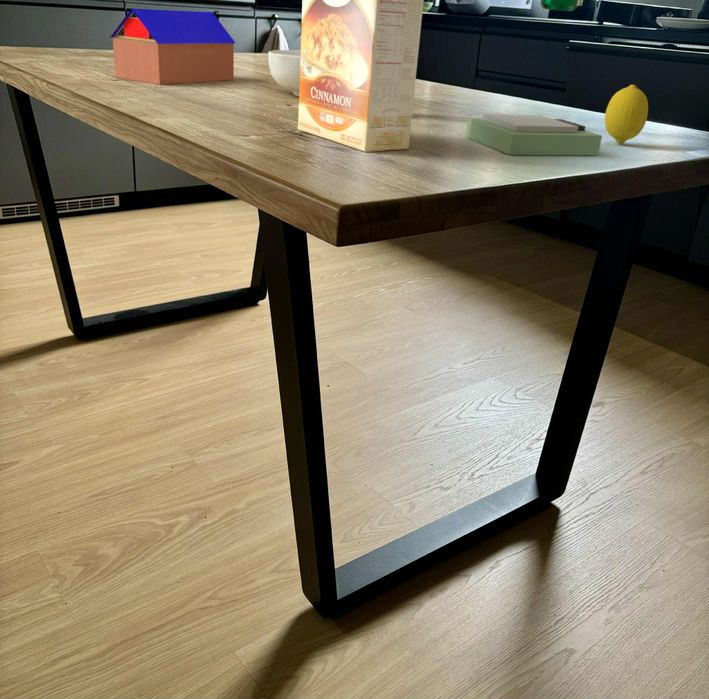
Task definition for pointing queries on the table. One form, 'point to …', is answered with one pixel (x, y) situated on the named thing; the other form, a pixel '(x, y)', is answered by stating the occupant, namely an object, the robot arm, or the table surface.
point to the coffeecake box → (359, 71)
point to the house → (172, 47)
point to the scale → (532, 135)
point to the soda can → (560, 4)
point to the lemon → (626, 114)
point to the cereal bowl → (286, 68)
